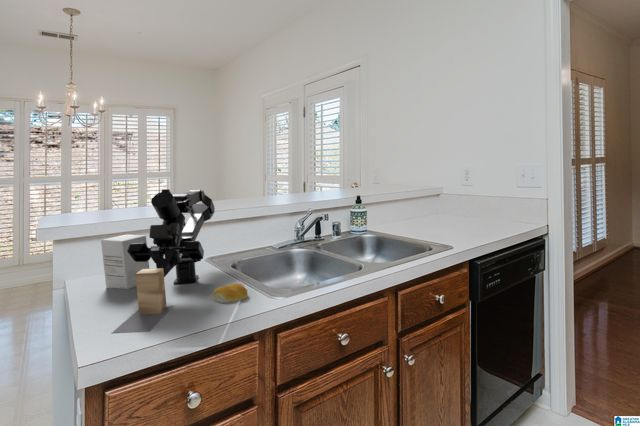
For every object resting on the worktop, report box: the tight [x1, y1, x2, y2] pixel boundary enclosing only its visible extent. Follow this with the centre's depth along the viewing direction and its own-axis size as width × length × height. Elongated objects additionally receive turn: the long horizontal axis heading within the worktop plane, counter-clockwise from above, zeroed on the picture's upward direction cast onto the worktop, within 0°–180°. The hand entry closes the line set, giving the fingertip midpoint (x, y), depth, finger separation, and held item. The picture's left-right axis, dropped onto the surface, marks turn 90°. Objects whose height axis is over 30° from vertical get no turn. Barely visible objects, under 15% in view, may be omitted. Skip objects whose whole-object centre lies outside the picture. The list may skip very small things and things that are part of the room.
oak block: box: [136, 268, 168, 314], centre depth 89 cm, size 4×5×10 cm
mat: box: [111, 305, 174, 334], centre depth 85 cm, size 14×8×1 cm, turn 3°
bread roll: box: [211, 283, 248, 304], centre depth 98 cm, size 8×9×4 cm
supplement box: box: [100, 233, 150, 290], centre depth 112 cm, size 9×9×15 cm
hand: (160, 279), depth 95 cm, fingers closed
